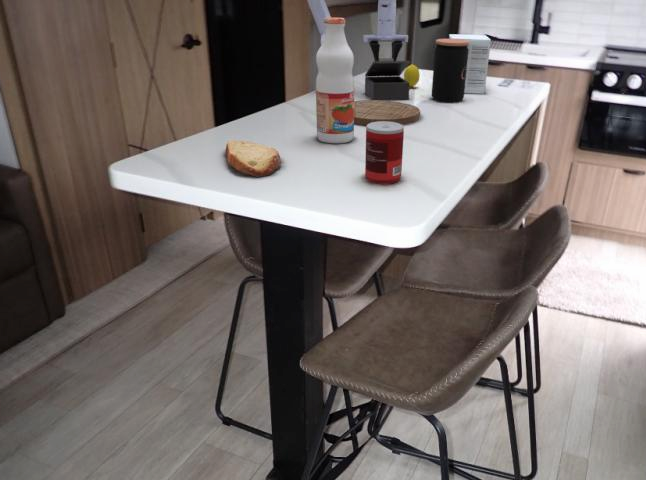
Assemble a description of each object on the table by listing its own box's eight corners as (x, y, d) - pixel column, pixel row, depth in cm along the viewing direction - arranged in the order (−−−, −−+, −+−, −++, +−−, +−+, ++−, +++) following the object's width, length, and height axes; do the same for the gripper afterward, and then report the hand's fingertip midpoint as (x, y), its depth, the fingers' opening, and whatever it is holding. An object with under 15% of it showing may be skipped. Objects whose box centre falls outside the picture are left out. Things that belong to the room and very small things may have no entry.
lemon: (400, 86, 214) (401, 63, 210) (414, 85, 216) (415, 62, 212) (407, 89, 210) (409, 65, 206) (421, 88, 212) (423, 64, 208)
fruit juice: (329, 132, 157) (328, 15, 143) (360, 137, 153) (362, 18, 139) (309, 140, 150) (306, 18, 136) (341, 146, 146) (341, 20, 132)
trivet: (406, 130, 161) (407, 123, 160) (321, 120, 167) (321, 113, 166) (428, 111, 181) (429, 104, 180) (351, 103, 188) (352, 97, 187)
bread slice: (235, 147, 143) (234, 131, 141) (302, 156, 137) (302, 140, 136) (190, 168, 128) (188, 150, 127) (263, 179, 123) (262, 161, 121)
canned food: (399, 172, 129) (402, 121, 124) (402, 184, 122) (405, 131, 117) (364, 172, 129) (365, 120, 123) (365, 184, 122) (366, 130, 116)
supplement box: (444, 85, 218) (448, 33, 209) (480, 86, 217) (486, 34, 208) (447, 92, 206) (451, 38, 197) (485, 94, 206) (491, 39, 197)
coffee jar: (465, 103, 192) (471, 43, 183) (432, 102, 192) (437, 42, 183) (461, 96, 201) (467, 39, 192) (430, 95, 201) (434, 38, 192)
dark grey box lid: (410, 62, 190) (408, 49, 190) (373, 63, 187) (372, 50, 187) (399, 76, 202) (398, 63, 201) (365, 76, 199) (364, 64, 199)
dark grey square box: (408, 99, 195) (409, 82, 192) (373, 100, 192) (373, 83, 190) (398, 92, 205) (399, 76, 202) (364, 93, 202) (365, 76, 199)
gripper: (367, 21, 185) (366, 67, 191) (411, 21, 188) (409, 67, 194) (362, 19, 190) (361, 64, 197) (405, 19, 194) (403, 63, 200)
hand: (384, 65), depth 196 cm, fingers closed on dark grey box lid, 5 cm apart
